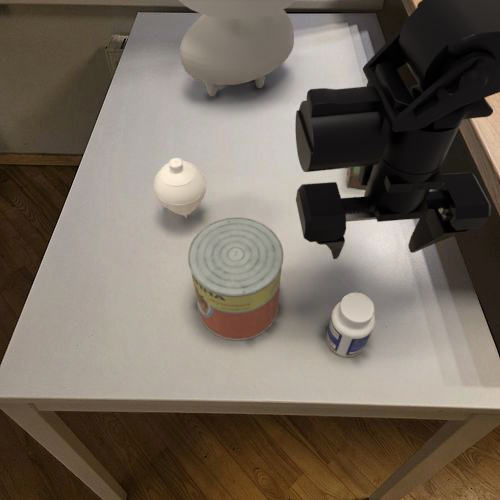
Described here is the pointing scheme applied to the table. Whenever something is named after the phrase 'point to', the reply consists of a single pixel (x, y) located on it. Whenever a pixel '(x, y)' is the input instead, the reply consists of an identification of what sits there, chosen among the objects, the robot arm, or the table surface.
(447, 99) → the robot arm
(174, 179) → the spinning top
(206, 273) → the canned food
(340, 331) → the pill bottle
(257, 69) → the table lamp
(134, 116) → the table surface
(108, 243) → the table surface
